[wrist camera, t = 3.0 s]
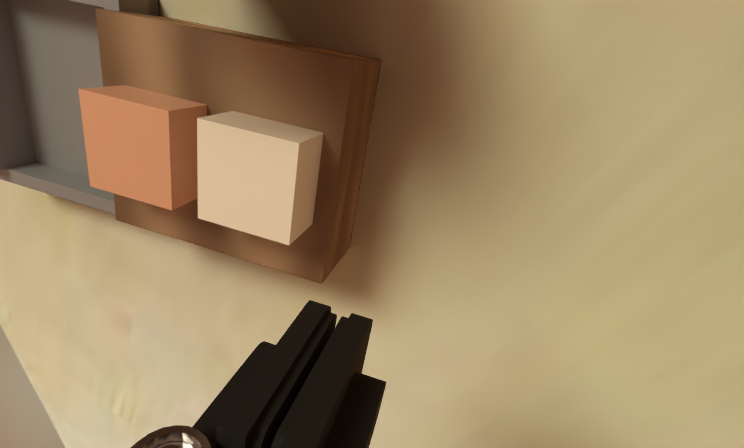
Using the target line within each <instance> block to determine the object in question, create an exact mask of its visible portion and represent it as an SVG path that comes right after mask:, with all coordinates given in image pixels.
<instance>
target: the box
mask: <svg viewBox="0 0 744 448" xmlns="http://www.w3.org/2000/svg"><path fill="white" fill-rule="evenodd" d="M95 8H98V9H106V10H114V11H122V12H130V13H138V14H146V15H153V16H159V8H158V0H0V179H2V180H5V181H8V182H12V183H15V184H18V185H21V186H25V187H28V188H31V189H34V190H38V191H41V192H44V193H47V194H51V195H54V196H57V197H60V198H64V199H67V200H70V201H73V202H76V203H80V204H83V205H86V206H89V207H93V208H96V209H99V210H102V211H106V212H109V213H112V214H115V204H114V193H111V192H108V191H105V190H101V189H98V188H95V187H91V186H90V180H89V172H88V164H87V156H86V148H85V139H84V131H83V123H82V115H81V107H80V98H79V90H78V88H92V87H103V81H102V71H101V61H100V50H99V40H98V30H97V20H96V10H95ZM115 215H116V214H115Z"/></svg>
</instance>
